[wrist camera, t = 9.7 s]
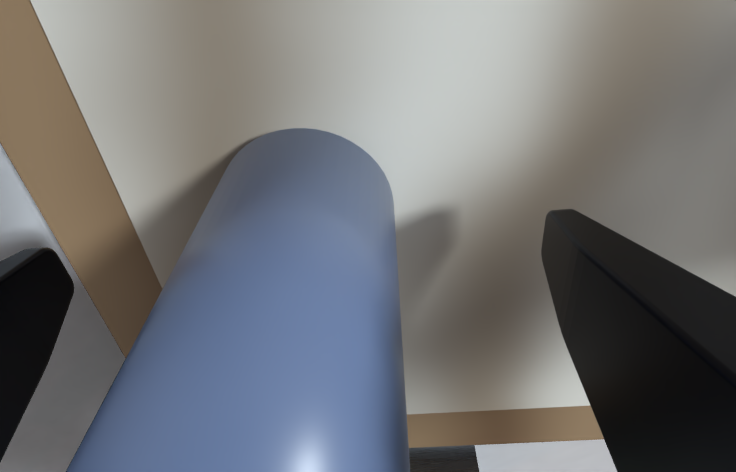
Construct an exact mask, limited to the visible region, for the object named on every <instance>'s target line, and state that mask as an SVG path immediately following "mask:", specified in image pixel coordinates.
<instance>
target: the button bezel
mask: <svg viewBox="0 0 736 472" xmlns="http://www.w3.org/2000/svg"><path fill="white" fill-rule="evenodd" d="M409 461H410V472H479V468H478V463H477V457H476V451H475V446H474V445H462V446H439V447H417V448H409Z"/></svg>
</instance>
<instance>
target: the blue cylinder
mask: <svg viewBox="0 0 736 472" xmlns="http://www.w3.org/2000/svg"><path fill="white" fill-rule="evenodd" d="M66 472H410V461H409V445H408V428H407V412H406V395H405V379H404V363H403V346H402V330H401V313H400V297H399V280H398V264H397V248H396V231H395V215H394V201H393V195H392V191H391V187H390V184H389V182H388V180H387V178H386V176H385V174H384V172H383V171H382V169H381V168H380V166H379V165H378V164H377V162H376V161H375V160H374V159H373V158H372V157H371V156H370V155H369V154H368V153H367V152H365V151H364V150H363V149H362V148H360V147H359V146H357V145H356V144H354V143H353V142H351V141H349V140H347V139H345V138H343V137H341V136H339V135H336V134H333V133H330V132H326V131H322V130H317V129H308V128H290V129H284V130H278V131H275V132H271V133H268V134H265V135H263V136H261V137H259V138H257V139H255V140H253V141H252V142H250V143H249V144H247V145H246V146H245V147H244V148H242V149H241V150H240V151H239V152H238V153H237V154H236V155H235V157H234V158H233V159H232V160H231V162H230V164H229V165H228V167H227V169H226V170H225V172H224V174H223V176H222V178H221V180H220V182H219V184H218V186H217V187H216V189H215V191H214V193H213V195H212V197H211V199H210V201H209V203H208V204H207V206H206V208H205V210H204V212H203V214H202V216H201V218H200V220H199V221H198V223H197V225H196V227H195V229H194V231H193V233H192V235H191V237H190V238H189V240H188V242H187V244H186V246H185V248H184V250H183V252H182V254H181V255H180V257H179V259H178V261H177V263H176V265H175V267H174V269H173V271H172V272H171V274H170V276H169V278H168V280H167V282H166V284H165V286H164V288H163V289H162V291H161V293H160V295H159V297H158V299H157V301H156V303H155V305H154V306H153V308H152V310H151V312H150V314H149V316H148V318H147V320H146V322H145V323H144V325H143V327H142V329H141V331H140V333H139V335H138V337H137V339H136V340H135V342H134V344H133V346H132V348H131V350H130V352H129V354H128V356H127V357H126V359H125V361H124V363H123V365H122V367H121V369H120V371H119V373H118V374H117V376H116V378H115V380H114V382H113V384H112V386H111V388H110V390H109V391H108V393H107V395H106V397H105V399H104V401H103V403H102V405H101V407H100V408H99V410H98V412H97V414H96V416H95V418H94V420H93V422H92V424H91V425H90V427H89V429H88V431H87V433H86V435H85V437H84V439H83V440H82V442H81V444H80V446H79V448H78V450H77V452H76V454H75V456H74V457H73V459H72V461H71V463H70V465H69V467H68V469H67V471H66Z"/></svg>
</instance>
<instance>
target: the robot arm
mask: <svg viewBox="0 0 736 472" xmlns="http://www.w3.org/2000/svg"><path fill="white" fill-rule="evenodd" d="M541 257H542V262H543V266H544V270H545V274H546V278H547V281H548V285H549V289H550V293H551V296H552V300H553V304H554V308H555V311H556V315H557V319H558V323H559V326H560V330H561V333H562V336H563V339H564V341H565V344H566V347H567V349H568V352H569V354H570V356H571V359H572V361H573V364H574V366H575V369H576V371H577V374H578V376H579V379H580V381H581V383H582V386H583V388H584V391H585V393H586V396H587V398H588V401H589V403H590V405H591V408H592V410H593V413H594V415H595V418H596V420H597V423H598V425H599V428H600V430H601V432H602V435H603V437H604V440H605V442H606V445H607V447H608V450H609V452H610V455H611V457H612V459H613V462H614V464H615V467H616V469H617V472H736V297H735V296H734V295H732V294H730V293H728V292H726V291H724V290H722V289H721V288H719V287H717V286H715V285H713V284H711V283H709V282H708V281H706V280H704V279H702V278H700V277H698V276H697V275H695V274H693V273H691V272H689V271H687V270H685V269H684V268H682V267H680V266H678V265H676V264H674V263H672V262H671V261H669V260H667V259H665V258H663V257H661V256H659V255H658V254H656V253H654V252H652V251H650V250H648V249H646V248H645V247H643V246H641V245H639V244H637V243H635V242H634V241H632V240H630V239H628V238H626V237H624V236H622V235H621V234H619V233H617V232H615V231H613V230H611V229H609V228H608V227H606V226H604V225H602V224H600V223H598V222H596V221H595V220H593V219H591V218H589V217H587V216H585V215H584V214H582V213H580V212H578V211H576V210H574V209H560V210H551V211H549V212H548V213H547V215H546V219H545V226H544V233H543V240H542V248H541ZM73 293H74V284H73V281H72V279H71V277H70V275H69V274H68V272H67V270H66V269H65V267H64V265H63V263H62V262H61V260H60V258H59V257H58V255H57V254H56V252H55V251H53V250H52V249H50V248H31V249H26V250H23V251H21V252H19V253H17V254H15V255H13V256H11V257H9V258H7V259H5V260H3V261H1V262H0V462H1V460H2V458H3V456H4V454H5V451H6V449H7V447H8V445H9V443H10V441H11V439H12V437H13V435H14V433H15V431H16V429H17V427H18V425H19V423H20V421H21V418H22V416H23V414H24V412H25V410H26V408H27V406H28V404H29V402H30V400H31V398H32V396H33V394H34V392H35V390H36V388H37V385H38V383H39V381H40V379H41V377H42V375H43V373H44V371H45V368H46V366H47V364H48V362H49V359H50V356H51V354H52V351H53V348H54V346H55V343H56V340H57V337H58V335H59V332H60V329H61V326H62V324H63V321H64V318H65V315H66V313H67V310H68V307H69V304H70V302H71V299H72V296H73Z"/></svg>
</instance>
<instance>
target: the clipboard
mask: <svg viewBox="0 0 736 472" xmlns="http://www.w3.org/2000/svg"><path fill="white" fill-rule="evenodd" d="M290 128H308V129H317V130H322V131H326V132H330V133H333V134H336V135H339V136H341V137H343V138H345V139H347V140H349V141H351V142H353V143H354V144H356V145H357V146H359V147H360V148H362V149H363V150H364V151H365V152H367V153H368V154H369V155H370V156H371V157H372V158H373V159H374V160H375V161H376V162H377V164H378V165H379V166H380V168H381V169H382V171H383V172H384V174H385V176H386V178H387V180H388V182H389V184H390V187H391V191H392V195H393V201H394V215H395V231H396V248H397V264H398V280H399V297H400V313H401V330H402V346H403V363H404V379H405V395H406V412H407V428H408V445H409V448H417V447H439V446H462V445H484V444H507V443H529V442H552V441H574V440H597V439H604V437H603V435H602V432H601V430H600V428H599V425H598V423H597V420H596V418H595V415H594V413H593V410H592V408H591V405H590V403H589V401H588V398H587V396H586V393H585V391H584V388H583V386H582V383H581V381H580V379H579V376H578V374H577V371H576V369H575V366H574V364H573V361H572V359H571V356H570V354H569V352H568V349H567V347H566V344H565V341H564V339H563V336H562V333H561V330H560V326H559V323H558V319H557V315H556V311H555V308H554V304H553V300H552V296H551V293H550V289H549V285H548V281H547V278H546V274H545V270H544V266H543V262H542V257H541V248H542V240H543V233H544V226H545V219H546V215H547V213H548V212H549V211H551V210H560V209H574V210H576V211H578V212H580V213H582V214H584V215H585V216H587V217H589V218H591V219H593V220H595V221H596V222H598V223H600V224H602V225H604V226H606V227H608V228H609V229H611V230H613V231H615V232H617V233H619V234H621V235H622V236H624V237H626V238H628V239H630V240H632V241H634V242H635V243H637V244H639V245H641V246H643V247H645V248H646V249H648V250H650V251H652V252H654V253H656V254H658V255H659V256H661V257H663V258H665V259H667V260H669V261H671V262H672V263H674V264H676V265H678V266H680V267H682V268H684V269H685V270H687V271H689V272H691V273H693V274H695V275H697V276H698V277H700V278H702V279H704V280H706V281H708V282H709V283H711V284H713V285H715V286H717V287H719V288H721V289H722V290H724V291H726V292H728V293H730V294H732V295H734V296H735V297H736V0H0V143H1V145H2V146H3V148H4V150H5V151H6V153H7V155H8V157H9V158H10V160H11V162H12V163H13V165H14V167H15V169H16V170H17V172H18V174H19V176H20V177H21V179H22V181H23V182H24V184H25V186H26V188H27V189H28V191H29V193H30V194H31V196H32V198H33V200H34V201H35V203H36V205H37V207H38V208H39V210H40V212H41V213H42V215H43V217H44V219H45V220H46V222H47V224H48V225H49V227H50V229H51V231H52V232H53V234H54V236H55V237H56V239H57V241H58V243H59V244H60V246H61V248H62V250H63V251H64V253H65V255H66V256H67V258H68V260H69V262H70V263H71V265H72V267H73V268H74V270H75V272H76V274H77V275H78V277H79V279H80V281H81V282H82V284H83V286H84V287H85V289H86V291H87V293H88V294H89V296H90V298H91V299H92V301H93V303H94V305H95V306H96V308H97V310H98V311H99V313H100V315H101V317H102V318H103V320H104V322H105V324H106V325H107V327H108V329H109V330H110V332H111V334H112V336H113V337H114V339H115V341H116V342H117V344H118V346H119V348H120V349H121V351H122V353H123V355H124V356H125V358H126V357H127V356H128V354H129V352H130V350H131V348H132V346H133V344H134V342H135V340H136V339H137V337H138V335H139V333H140V331H141V329H142V327H143V325H144V323H145V322H146V320H147V318H148V316H149V314H150V312H151V310H152V308H153V306H154V305H155V303H156V301H157V299H158V297H159V295H160V293H161V291H162V289H163V288H164V286H165V284H166V282H167V280H168V278H169V276H170V274H171V272H172V271H173V269H174V267H175V265H176V263H177V261H178V259H179V257H180V255H181V254H182V252H183V250H184V248H185V246H186V244H187V242H188V240H189V238H190V237H191V235H192V233H193V231H194V229H195V227H196V225H197V223H198V221H199V220H200V218H201V216H202V214H203V212H204V210H205V208H206V206H207V204H208V203H209V201H210V199H211V197H212V195H213V193H214V191H215V189H216V187H217V186H218V184H219V182H220V180H221V178H222V176H223V174H224V172H225V170H226V169H227V167H228V165H229V164H230V162H231V160H232V159H233V158H234V157H235V155H236V154H237V153H238V152H239V151H240V150H241V149H242V148H244V147H245V146H246V145H247V144H249V143H250V142H252V141H253V140H255V139H257V138H259V137H261V136H263V135H265V134H268V133H271V132H275V131H278V130H284V129H290Z"/></svg>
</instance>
